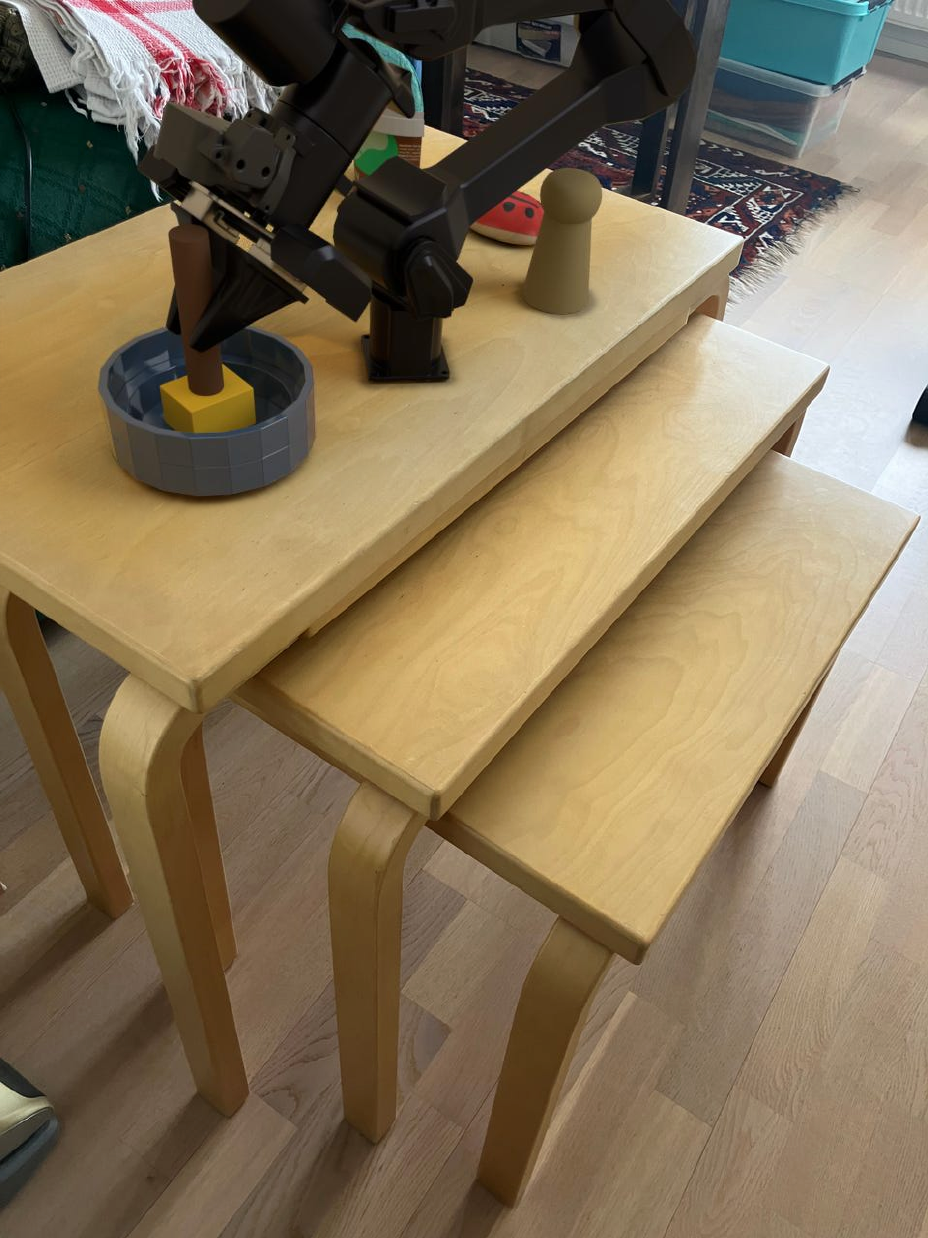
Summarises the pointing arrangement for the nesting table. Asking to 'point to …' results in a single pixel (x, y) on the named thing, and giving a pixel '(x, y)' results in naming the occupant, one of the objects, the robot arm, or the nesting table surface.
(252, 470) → the bowl
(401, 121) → the food container
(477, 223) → the ladybug figurine
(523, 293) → the olive brown pawn
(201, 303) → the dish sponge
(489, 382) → the nesting table surface
